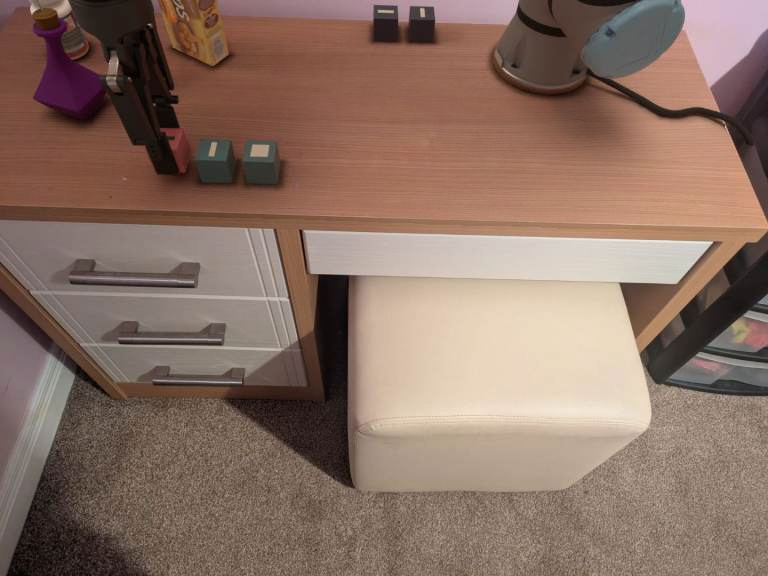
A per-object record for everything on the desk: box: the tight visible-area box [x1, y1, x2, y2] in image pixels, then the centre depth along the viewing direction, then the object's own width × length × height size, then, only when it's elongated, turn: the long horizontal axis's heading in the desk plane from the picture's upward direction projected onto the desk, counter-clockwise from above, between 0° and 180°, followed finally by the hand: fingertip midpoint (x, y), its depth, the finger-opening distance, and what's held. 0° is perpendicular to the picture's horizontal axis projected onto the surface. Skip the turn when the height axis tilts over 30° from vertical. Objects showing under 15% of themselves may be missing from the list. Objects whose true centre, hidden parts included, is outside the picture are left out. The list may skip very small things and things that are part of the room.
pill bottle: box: [27, 0, 90, 61], centre depth 84 cm, size 6×6×10 cm
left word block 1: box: [242, 139, 281, 185], centre depth 74 cm, size 4×4×4 cm
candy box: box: [157, 0, 230, 67], centre depth 83 cm, size 9×4×15 cm, turn 58°
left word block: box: [194, 138, 237, 184], centre depth 73 cm, size 4×4×4 cm
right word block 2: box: [372, 4, 399, 42], centre depth 93 cm, size 4×4×4 cm
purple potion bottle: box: [30, 0, 107, 121], centre depth 74 cm, size 8×8×18 cm
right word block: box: [407, 5, 436, 43], centre depth 93 cm, size 4×4×4 cm
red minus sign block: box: [144, 127, 192, 174], centre depth 72 cm, size 4×4×4 cm
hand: (172, 159), depth 73 cm, fingers closed on red minus sign block, 4 cm apart
